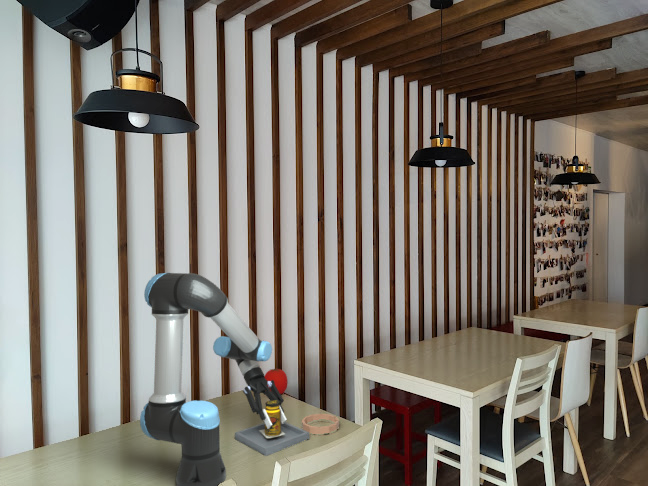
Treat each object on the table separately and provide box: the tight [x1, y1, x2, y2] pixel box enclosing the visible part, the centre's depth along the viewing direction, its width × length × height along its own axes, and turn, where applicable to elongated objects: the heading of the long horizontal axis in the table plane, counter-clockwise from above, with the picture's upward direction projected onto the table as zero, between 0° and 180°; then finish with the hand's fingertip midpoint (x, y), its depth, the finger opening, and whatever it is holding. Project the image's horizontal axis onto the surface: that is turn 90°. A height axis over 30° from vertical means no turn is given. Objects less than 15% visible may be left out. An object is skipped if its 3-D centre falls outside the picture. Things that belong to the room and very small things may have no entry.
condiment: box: [259, 399, 285, 438], centre depth 181 cm, size 7×8×12 cm
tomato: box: [264, 368, 288, 395], centre depth 233 cm, size 12×12×13 cm
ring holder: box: [301, 413, 340, 434], centre depth 191 cm, size 14×14×3 cm
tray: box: [234, 421, 310, 457], centre depth 181 cm, size 20×20×2 cm
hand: (277, 424), depth 178 cm, fingers closed on condiment, 6 cm apart
